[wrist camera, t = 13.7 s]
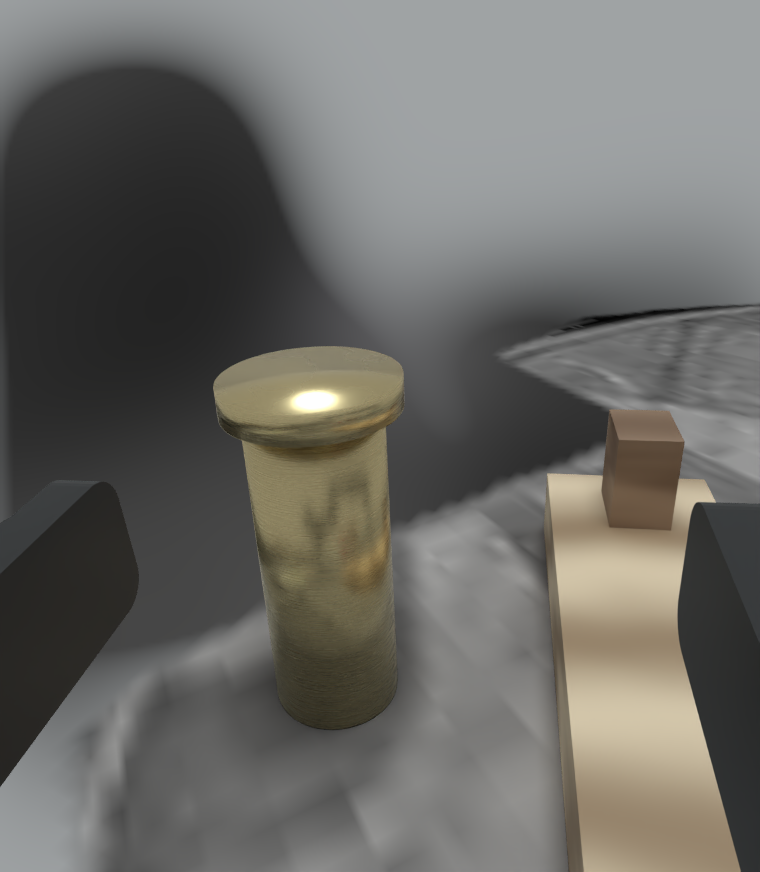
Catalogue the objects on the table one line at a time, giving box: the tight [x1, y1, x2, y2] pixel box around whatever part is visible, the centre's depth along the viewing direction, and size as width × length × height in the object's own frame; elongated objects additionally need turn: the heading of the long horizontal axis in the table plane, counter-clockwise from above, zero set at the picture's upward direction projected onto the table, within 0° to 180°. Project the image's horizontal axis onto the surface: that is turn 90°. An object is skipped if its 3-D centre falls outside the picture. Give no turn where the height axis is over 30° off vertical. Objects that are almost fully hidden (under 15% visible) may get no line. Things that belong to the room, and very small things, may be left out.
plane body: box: [544, 410, 741, 872], centre depth 23 cm, size 22×7×7 cm, turn 170°
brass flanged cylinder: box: [213, 346, 404, 729], centre depth 23 cm, size 6×6×12 cm
